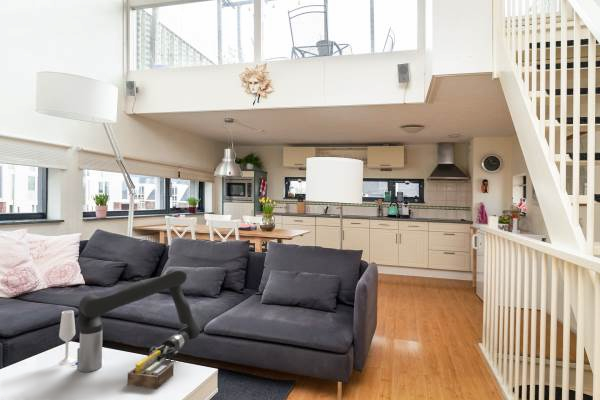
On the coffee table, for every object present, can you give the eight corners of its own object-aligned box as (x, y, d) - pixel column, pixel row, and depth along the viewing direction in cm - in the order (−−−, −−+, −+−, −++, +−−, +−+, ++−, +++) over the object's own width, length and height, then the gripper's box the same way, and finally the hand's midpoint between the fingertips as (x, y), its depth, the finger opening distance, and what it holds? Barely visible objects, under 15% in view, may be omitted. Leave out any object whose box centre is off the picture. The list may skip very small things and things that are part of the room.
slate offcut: (153, 385, 155) (153, 372, 155) (162, 377, 162) (162, 365, 162) (157, 385, 154) (157, 372, 155) (166, 378, 161) (166, 365, 161)
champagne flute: (54, 363, 174) (56, 312, 174) (68, 357, 180) (69, 309, 180) (65, 365, 172) (66, 314, 172) (78, 359, 178) (79, 310, 178)
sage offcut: (145, 383, 156) (145, 369, 156) (156, 375, 164) (156, 361, 164) (149, 384, 156) (149, 370, 156) (160, 375, 164) (160, 362, 164)
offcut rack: (127, 385, 155) (127, 373, 155) (145, 371, 167) (145, 360, 167) (157, 389, 152) (157, 377, 152) (173, 375, 164) (173, 364, 164)
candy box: (138, 384, 156) (139, 365, 156) (134, 383, 156) (134, 364, 156) (160, 367, 171) (160, 350, 172) (156, 367, 172) (156, 349, 172)
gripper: (160, 335, 186) (139, 348, 169) (186, 338, 183) (167, 351, 166) (160, 350, 186) (139, 364, 169) (186, 353, 183) (167, 368, 166)
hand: (153, 358), depth 167 cm, fingers open, 4 cm apart
